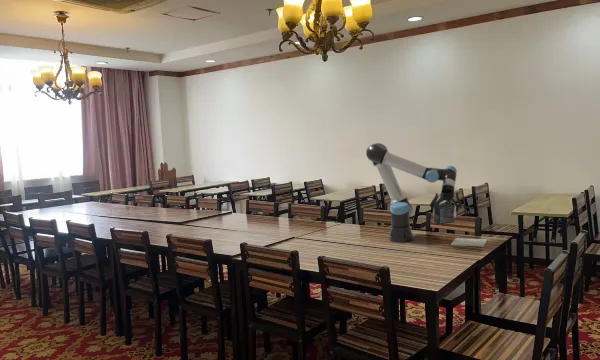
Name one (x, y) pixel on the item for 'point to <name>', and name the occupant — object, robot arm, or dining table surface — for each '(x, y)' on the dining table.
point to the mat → (469, 242)
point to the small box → (444, 213)
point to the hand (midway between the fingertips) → (444, 216)
